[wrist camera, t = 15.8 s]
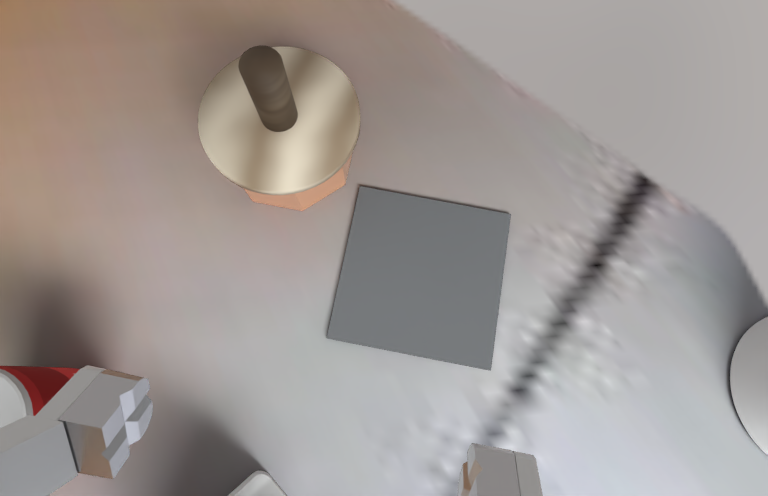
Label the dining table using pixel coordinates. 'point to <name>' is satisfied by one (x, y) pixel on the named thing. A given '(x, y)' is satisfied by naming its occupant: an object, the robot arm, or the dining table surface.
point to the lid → (279, 120)
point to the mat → (421, 278)
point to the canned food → (29, 389)
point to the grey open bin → (258, 486)
